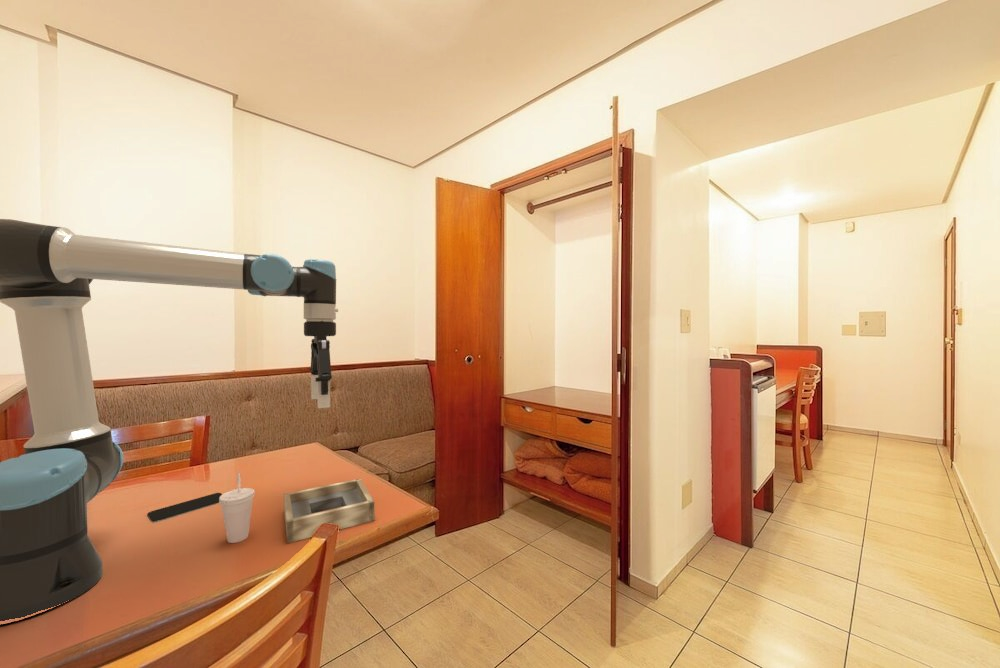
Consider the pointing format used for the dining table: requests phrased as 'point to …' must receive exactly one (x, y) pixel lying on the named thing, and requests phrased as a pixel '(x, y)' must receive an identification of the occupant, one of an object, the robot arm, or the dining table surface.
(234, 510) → the smoothie
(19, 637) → the dining table surface
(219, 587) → the dining table surface
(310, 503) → the socket box
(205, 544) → the dining table surface
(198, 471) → the dining table surface
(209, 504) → the smartphone
